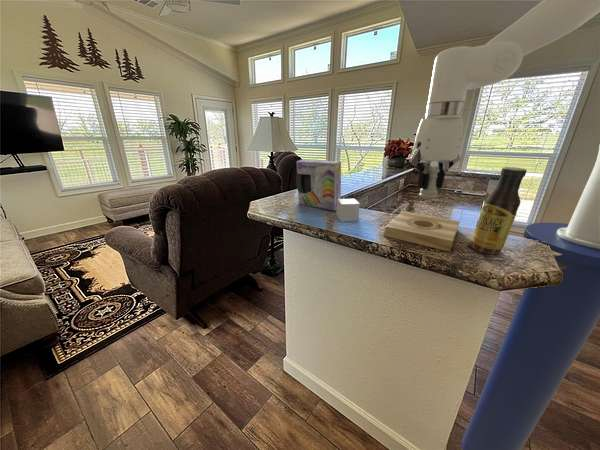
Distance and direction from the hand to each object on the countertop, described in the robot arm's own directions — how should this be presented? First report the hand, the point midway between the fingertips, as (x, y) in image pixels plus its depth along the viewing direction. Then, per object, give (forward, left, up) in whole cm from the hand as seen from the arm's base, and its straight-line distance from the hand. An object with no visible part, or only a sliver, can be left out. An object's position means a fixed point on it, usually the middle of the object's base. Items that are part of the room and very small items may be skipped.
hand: (429, 186), depth 63 cm
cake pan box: (+24, -31, -14) cm, 42 cm away
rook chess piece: (0, 0, -3) cm, 3 cm away
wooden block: (0, 0, -13) cm, 13 cm away
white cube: (+17, -16, -14) cm, 27 cm away
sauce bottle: (-9, +12, -14) cm, 21 cm away
